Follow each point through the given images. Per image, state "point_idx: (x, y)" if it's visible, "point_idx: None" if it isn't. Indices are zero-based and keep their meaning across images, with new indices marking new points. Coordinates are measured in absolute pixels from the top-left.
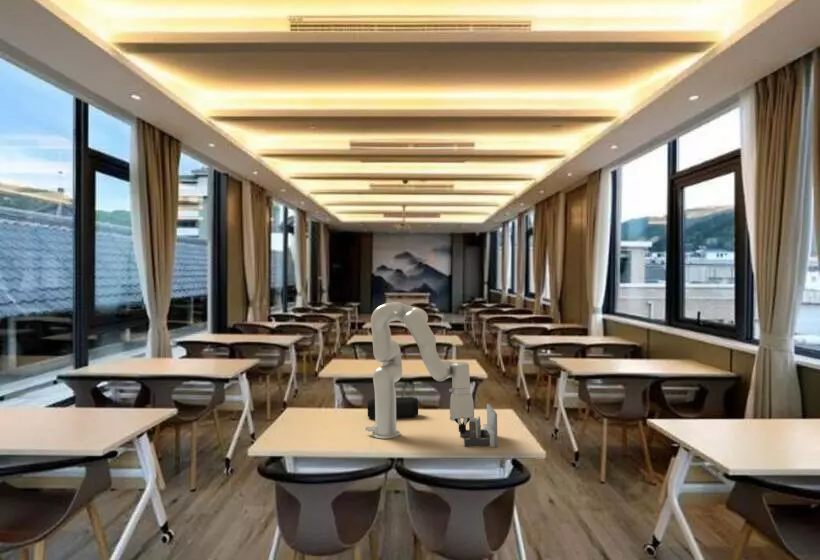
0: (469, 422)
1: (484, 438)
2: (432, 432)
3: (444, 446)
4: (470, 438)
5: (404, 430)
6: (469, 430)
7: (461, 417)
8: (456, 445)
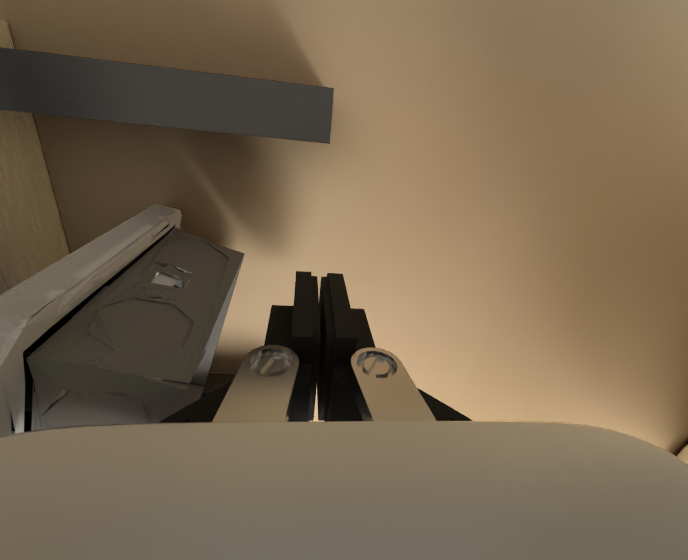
0: (178, 387)
1: (17, 91)
2: None
3: (523, 154)
4: (233, 255)
5: None
6: (221, 302)
7: (390, 431)
8: (400, 167)
